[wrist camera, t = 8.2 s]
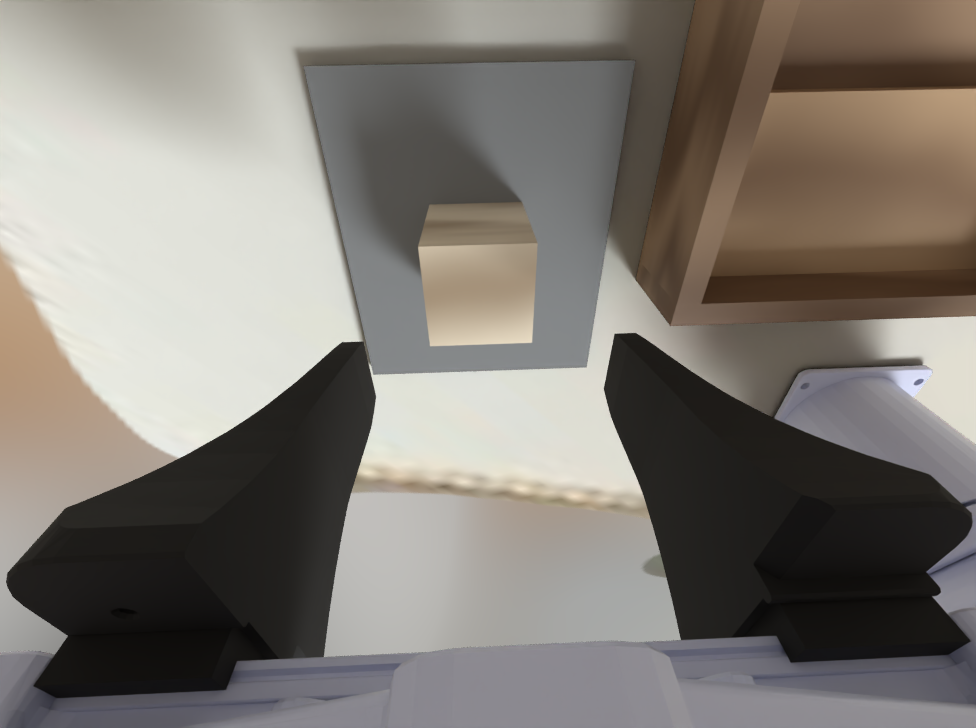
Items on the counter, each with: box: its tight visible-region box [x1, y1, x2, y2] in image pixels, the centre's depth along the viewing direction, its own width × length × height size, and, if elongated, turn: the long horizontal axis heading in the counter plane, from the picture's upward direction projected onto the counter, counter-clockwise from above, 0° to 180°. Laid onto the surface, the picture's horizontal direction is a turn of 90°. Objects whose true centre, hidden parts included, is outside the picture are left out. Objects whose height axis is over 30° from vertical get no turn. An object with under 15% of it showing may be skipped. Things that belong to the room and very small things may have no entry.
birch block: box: [418, 202, 538, 346], centre depth 17 cm, size 4×4×5 cm
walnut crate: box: [636, 0, 976, 326], centre depth 15 cm, size 16×16×4 cm
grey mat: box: [304, 60, 635, 375], centre depth 19 cm, size 14×12×1 cm
